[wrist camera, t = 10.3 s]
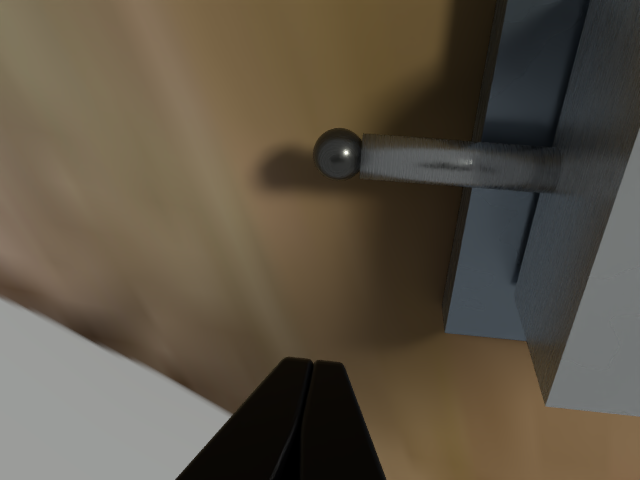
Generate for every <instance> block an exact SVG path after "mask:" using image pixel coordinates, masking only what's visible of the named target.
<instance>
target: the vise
mask: <svg viewBox="0 0 640 480" xmlns="http://www.w3.org/2000/svg"><path fill="white" fill-rule="evenodd" d="M589 3H590V0H497V2H496V8H495V14H494V19H493V25H492V30H491V36H490V41H489V47H488V52H487V58H486V63H485V69H484V75H483V80H482V86H481V91H480V97H479V102H478V108H477V113H476V119H475V124H474V130H473V136H472V141H475V142H489V143H503V144H517V145H531V146H545V147H552V146H553V142H554V138H555V134H556V130H557V126H558V122H559V119H560V115H561V111H562V107H563V103H564V99H565V96H566V92H567V88H568V84H569V80H570V76H571V73H572V69H573V65H574V61H575V57H576V53H577V49H578V46H579V42H580V38H581V34H582V30H583V26H584V23H585V19H586V15H587V11H588V7H589ZM539 196H540V193H535V192H522V191H510V190H497V189H484V188H471V187H463V191H462V197H461V202H460V208H459V213H458V219H457V224H456V230H455V235H454V241H453V247H452V252H451V258H450V263H449V269H448V274H447V280H446V285H445V291H444V296H443V302H442V311H443V321H444V330H445V333H452V334H462V335H472V336H482V337H492V338H502V339H512V340H522V341H526V337H525V334H524V330H523V327H522V323H521V320H520V316H519V313H518V309H517V306H516V303H515V299H514V296H513V295H514V292H515V288H516V284H517V280H518V276H519V272H520V269H521V265H522V261H523V257H524V253H525V249H526V246H527V242H528V238H529V234H530V230H531V226H532V222H533V219H534V215H535V211H536V207H537V203H538V199H539Z"/></svg>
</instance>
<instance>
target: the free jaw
mask: <svg viewBox="0 0 640 480" xmlns="http://www.w3.org/2000/svg"><path fill="white" fill-rule="evenodd" d="M313 159H314V163H315V165H316V167H317V169H318V171H319V172H320V173H321V174H322V175H323V176H325V177H327V178H329V179H331V180H336V181H343V180H347V179H350V178H352V177H353V176H355V175H356V174H357V173H358V172H359V171H360V179H369V180H382V181H395V182H408V183H421V184H433V185H446V186H459V187H471V188H484V189H497V190H510V191H522V192H535V193H540V196H539V199H538V203H537V207H536V211H535V215H534V219H533V222H532V226H531V230H530V234H529V238H528V242H527V246H526V249H525V253H524V257H523V261H522V265H521V269H520V272H519V276H518V280H517V284H516V288H515V292H514V295H513V296H514V299H515V303H516V306H517V309H518V313H519V316H520V320H521V323H522V327H523V330H524V334H525V337H526V341H527V344H528V348H529V351H530V355H531V358H532V362H533V365H534V369H535V372H536V376H537V379H538V383H539V386H540V390H541V393H542V397H543V400H544V404H545V406H548V407H557V408H566V409H575V410H584V411H594V412H603V413H612V414H621V415H630V416H640V0H590V3H589V7H588V11H587V15H586V19H585V23H584V26H583V30H582V34H581V38H580V42H579V46H578V49H577V53H576V57H575V61H574V65H573V69H572V73H571V76H570V80H569V84H568V88H567V92H566V96H565V99H564V103H563V107H562V111H561V115H560V119H559V122H558V126H557V130H556V134H555V138H554V142H553V146H552V147H545V146H531V145H517V144H503V143H489V142H475V141H461V140H447V139H433V138H419V137H405V136H391V135H378V134H364V133H363V140H362V141H361V139H360V138H359V136H357V135H356V134H355V133H354V132H352V131H350V130H348V129H344V128H334V129H331V130H328V131H326V132H325V133H323V134H322V135H321V136H320V137H319V138H318V140H317V142H316V143H315V146H314V150H313Z"/></svg>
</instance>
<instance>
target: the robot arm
mask: <svg viewBox="0 0 640 480" xmlns="http://www.w3.org/2000/svg"><path fill="white" fill-rule="evenodd" d="M175 480H386V477H385V474H384V472H383V469H382V466H381V464H380V461H379V458H378V456H377V453H376V450H375V447H374V445H373V442H372V439H371V437H370V434H369V431H368V429H367V426H366V423H365V421H364V418H363V415H362V412H361V410H360V407H359V404H358V402H357V399H356V396H355V394H354V391H353V388H352V386H351V383H350V380H349V377H348V375H347V372H346V369H345V367H344V365H343V364H342V363H340V362H333V361H324V360H317V361H315V362H314V364H313V362H312V361H311V360H310V359H305V358H295V357H286V358H284V359H282V360H281V361H280V363H279V364H278V365H277V366H276V367H275V368H274V369H273V370H272V372H271V373H270V374H269V375H268V376H267V377H266V378H265V379H264V381H263V382H262V383H261V384H260V385H259V386H258V387H257V388H256V390H255V391H254V392H253V393H252V394H251V395H250V396H249V397H248V399H247V400H246V401H245V402H244V403H243V404H242V405H241V406H240V407H239V409H238V410H237V411H236V412H235V413H234V414H233V415H232V416H231V418H230V419H229V420H228V421H227V422H226V423H225V424H224V426H223V427H222V428H221V429H220V430H219V431H218V432H217V433H216V434H215V436H214V437H213V438H212V439H211V440H210V441H209V442H208V444H207V445H206V446H205V447H204V448H203V449H202V450H201V451H200V452H199V454H198V455H197V456H196V457H195V458H194V459H193V460H192V461H191V463H190V464H189V465H188V466H187V467H186V468H185V469H184V470H183V472H182V473H181V474H180V475H179V476H178V477H177V478H176V479H175Z"/></svg>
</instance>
